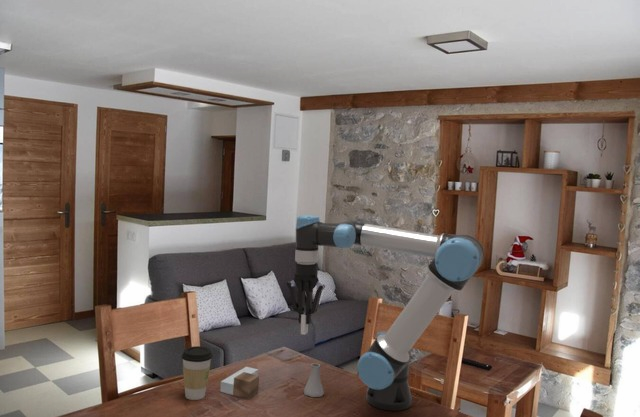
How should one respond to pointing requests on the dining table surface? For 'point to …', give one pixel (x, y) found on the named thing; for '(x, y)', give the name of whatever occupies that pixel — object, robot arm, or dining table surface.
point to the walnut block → (246, 385)
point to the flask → (314, 383)
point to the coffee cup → (196, 371)
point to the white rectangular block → (229, 382)
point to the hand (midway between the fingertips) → (304, 333)
